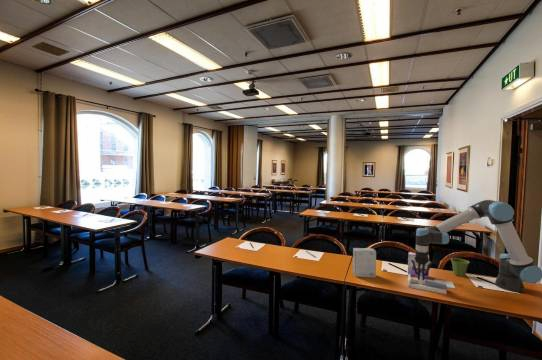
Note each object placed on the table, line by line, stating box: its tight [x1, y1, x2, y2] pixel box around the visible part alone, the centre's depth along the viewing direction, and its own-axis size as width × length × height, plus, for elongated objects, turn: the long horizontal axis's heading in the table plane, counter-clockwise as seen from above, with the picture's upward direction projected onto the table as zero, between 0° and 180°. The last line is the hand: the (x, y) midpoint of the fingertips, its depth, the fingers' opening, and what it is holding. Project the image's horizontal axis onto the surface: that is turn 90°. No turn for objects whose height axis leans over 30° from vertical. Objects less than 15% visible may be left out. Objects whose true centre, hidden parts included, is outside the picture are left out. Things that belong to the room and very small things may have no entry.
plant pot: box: [450, 257, 470, 277], centre depth 200 cm, size 12×12×11 cm
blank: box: [424, 278, 448, 290], centre depth 175 cm, size 12×4×5 cm, turn 64°
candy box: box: [407, 251, 430, 279], centre depth 198 cm, size 14×6×16 cm, turn 62°
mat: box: [434, 278, 457, 290], centre depth 183 cm, size 11×11×1 cm
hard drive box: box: [352, 247, 377, 279], centre depth 196 cm, size 16×8×20 cm, turn 84°
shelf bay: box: [407, 273, 447, 295], centre depth 177 cm, size 22×11×5 cm, turn 64°
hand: (420, 284), depth 179 cm, fingers closed
